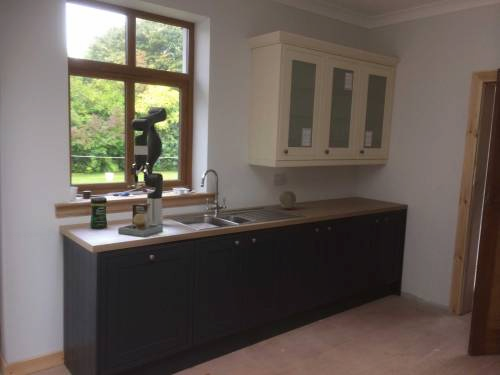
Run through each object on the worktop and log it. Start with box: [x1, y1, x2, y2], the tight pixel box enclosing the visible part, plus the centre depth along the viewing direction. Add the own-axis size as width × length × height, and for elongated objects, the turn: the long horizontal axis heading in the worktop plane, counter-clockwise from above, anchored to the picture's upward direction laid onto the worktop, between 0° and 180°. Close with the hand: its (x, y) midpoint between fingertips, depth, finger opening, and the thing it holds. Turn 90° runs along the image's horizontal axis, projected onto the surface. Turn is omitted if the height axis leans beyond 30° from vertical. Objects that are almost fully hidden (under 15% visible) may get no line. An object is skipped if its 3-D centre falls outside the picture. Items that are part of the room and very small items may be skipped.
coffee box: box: [131, 202, 150, 231], centre depth 252 cm, size 9×6×16 cm
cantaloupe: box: [279, 190, 297, 210], centre depth 358 cm, size 14×14×15 cm
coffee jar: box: [89, 196, 108, 229], centre depth 263 cm, size 10×8×19 cm
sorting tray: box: [117, 224, 164, 238], centre depth 253 cm, size 18×18×4 cm
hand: (140, 181), depth 250 cm, fingers open, 8 cm apart
